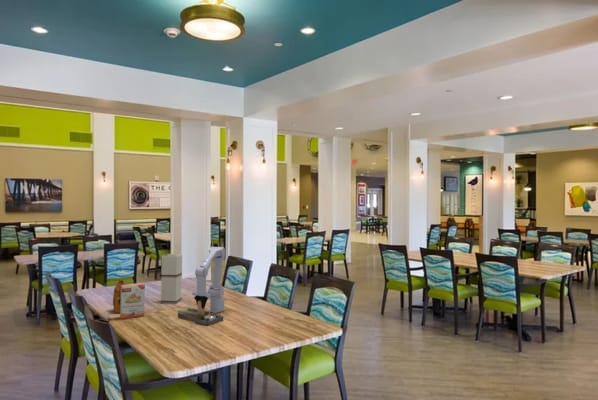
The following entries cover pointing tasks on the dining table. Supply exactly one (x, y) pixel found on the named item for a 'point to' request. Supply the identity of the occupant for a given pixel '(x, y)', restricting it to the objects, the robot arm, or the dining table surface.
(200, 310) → the brown block with knob
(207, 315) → the chip
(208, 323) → the tray
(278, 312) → the dining table surface
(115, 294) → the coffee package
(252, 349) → the dining table surface
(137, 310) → the cracker box
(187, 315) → the slot board
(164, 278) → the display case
